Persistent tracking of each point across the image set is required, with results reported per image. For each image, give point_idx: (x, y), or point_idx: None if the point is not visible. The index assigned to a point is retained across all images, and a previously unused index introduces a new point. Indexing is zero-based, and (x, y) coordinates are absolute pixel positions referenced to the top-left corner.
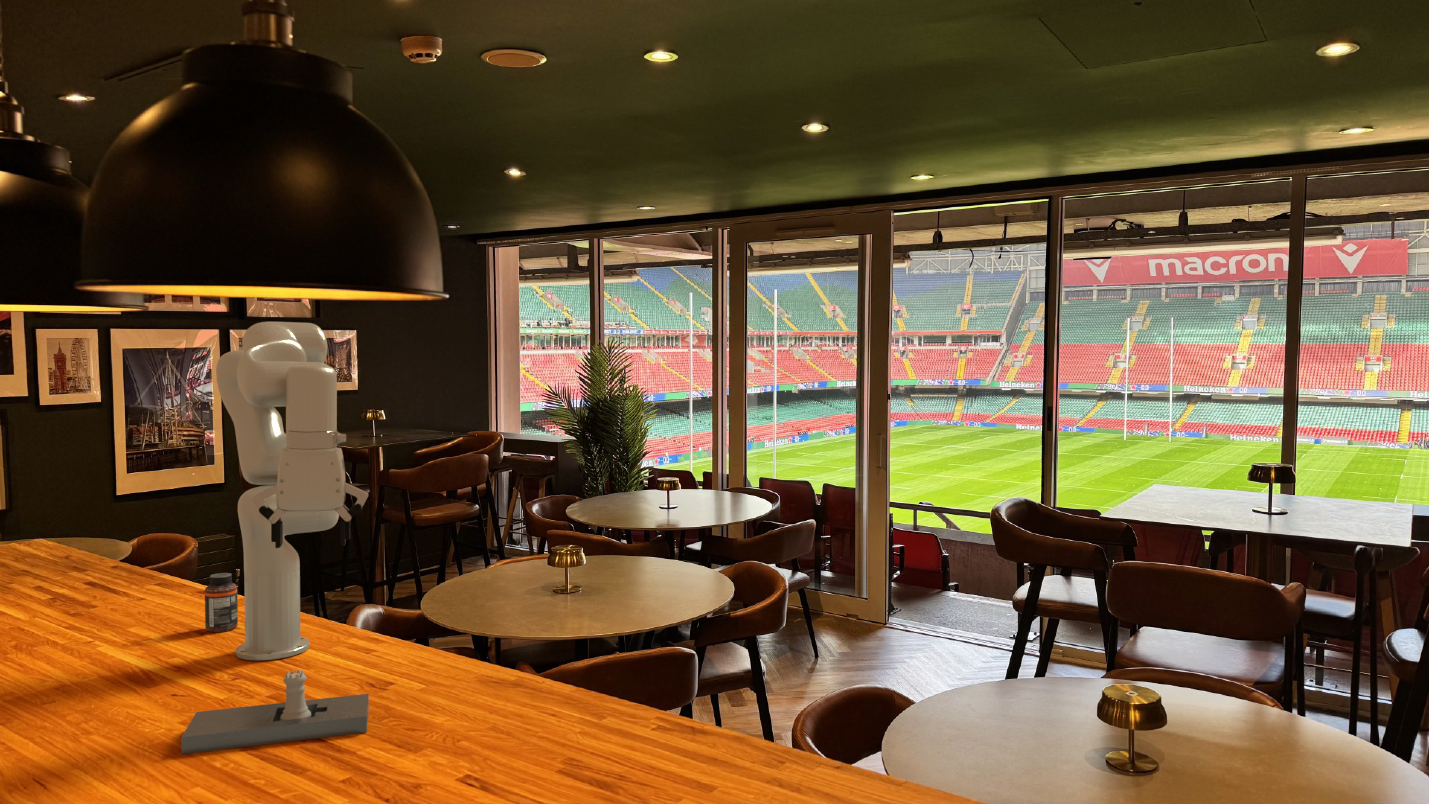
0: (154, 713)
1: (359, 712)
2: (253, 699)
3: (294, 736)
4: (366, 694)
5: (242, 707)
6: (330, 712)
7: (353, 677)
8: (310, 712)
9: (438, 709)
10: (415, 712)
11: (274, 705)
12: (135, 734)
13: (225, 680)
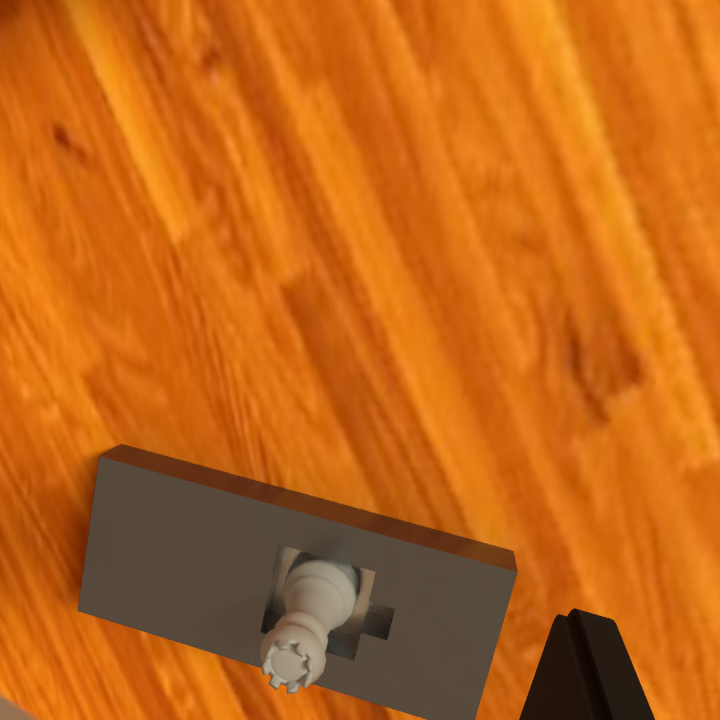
0: (28, 276)
1: (460, 697)
2: (248, 298)
3: None
4: (510, 575)
5: (200, 487)
6: (394, 655)
7: (540, 244)
8: (352, 606)
9: (682, 662)
10: None
11: (273, 520)
12: (5, 408)
13: (184, 63)
